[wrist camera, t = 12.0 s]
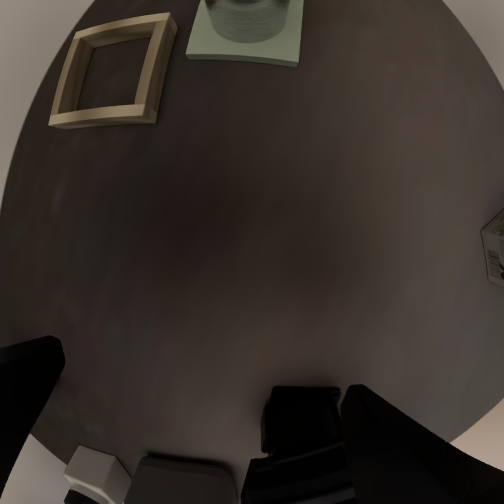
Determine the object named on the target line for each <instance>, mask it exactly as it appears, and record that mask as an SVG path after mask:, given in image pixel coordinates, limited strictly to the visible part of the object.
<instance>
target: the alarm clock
mask: <svg viewBox="0 0 504 504" xmlns="http://www.w3.org/2000/svg"><path fill="white" fill-rule="evenodd" d="M124 504H238V500H237V496H236V492H235V488H234V484H233V481H232V477H231V476H230V475H229V474H228V473H227V472H226V471H225V470H223V469H222V468H221V467H218V466H214V465H210V464H198V463H188V462H180V461H172V460H166V459H160V458H154V457H149V456H146V457H143V458H142V459H141V461H140V462H139V464H138V467H137V469H136V472H135V475H134V478H133V480H132V483H131V486H130V489H129V491H128V494H127V497H126V500H125V503H124Z"/></svg>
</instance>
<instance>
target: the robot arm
mask: <svg viewBox="0 0 504 504" xmlns="http://www.w3.org/2000/svg"><path fill="white" fill-rule="evenodd" d="M64 366H65V356H64V352H63V348H62V344H61V341H60V340H59V339H58V338H56V337H53V336H50V335H48V336H44V337H41V338H37V339H33V340H30V341H26V342H22V343H18V344H15V345H11V346H7V347H3V348H0V498H1V495H2V493H3V490H4V487H5V484H6V482H7V480H8V477H9V475H10V473H11V471H12V468H13V466H14V464H15V462H16V460H17V458H18V455H19V453H20V451H21V449H22V447H23V445H24V443H25V441H26V439H27V437H28V435H29V434H30V432H31V430H32V428H33V426H34V424H35V422H36V421H37V419H38V417H39V415H40V413H41V412H42V410H43V408H44V406H45V405H46V403H47V401H48V399H49V397H50V395H51V393H52V391H53V389H54V387H55V384H56V382H57V380H58V378H59V376H60V374H61V372H62V370H63V368H64ZM276 392H279V393H276ZM334 393H335V394H334ZM340 396H341V391H340V389H339V388H294V387H275V388H273V389H272V393H271V397H270V401H269V405H265V406H264V410H263V414H262V418H261V451H262V452H263V453H268V457H265V458H260V459H258V458H255V459H251V461H250V464H249V467H248V471H247V474H246V478H245V482H244V485H243V489H242V492H241V496H240V498H241V504H504V471H502V470H500V469H497V468H495V467H493V466H491V465H488V464H486V463H484V462H482V461H480V460H478V459H475V458H473V457H472V456H470V455H468V454H466V453H464V452H462V451H461V450H459V449H457V448H456V447H454V446H452V445H451V444H450V443H448V442H445V440H443V439H442V438H440V437H439V436H437V435H436V434H434V433H433V432H431V431H430V430H428V429H427V428H425V427H424V426H422V425H421V424H419V423H418V422H416V421H415V420H413V419H412V418H410V417H409V416H407V415H406V414H404V413H403V412H401V411H400V410H399V409H397V408H396V407H394V406H393V405H391V404H390V403H389V402H387V401H386V400H384V399H383V398H382V397H380V396H379V395H377V394H376V393H375V392H373V391H372V390H370V389H369V388H368V387H366V386H365V385H363V384H356V385H350V386H349V387H348V389H347V392H346V394H345V396H344V399H343V401H342V403H341V408H340V412H341V417H340V414H339V411H338V408H337V403H338V400H339V398H340Z"/></svg>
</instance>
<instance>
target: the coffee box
mask: <svg viewBox="0 0 504 504" xmlns="http://www.w3.org/2000/svg"><path fill="white" fill-rule="evenodd" d="M481 234H482V239H483V244H484V250H485V256H486V263H487V271H488V279H489V280H490V281H492V282H494V283H496V284H498V285H500V286H501V287H503V288H504V210H503V211H502V212H501V213H500V214H499V215H498V216H497V217H495V218H494V219H493V220H492V221H491V222H490V223H489V224H488V225H487V226H485V227H484V228H483V229H482V230H481Z"/></svg>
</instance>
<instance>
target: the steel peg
mask: <svg viewBox="0 0 504 504" xmlns="http://www.w3.org/2000/svg"><path fill="white" fill-rule="evenodd" d="M289 3H290V0H205V4H206V7H207V11H208V14H209V18H210V21H211V25H212V27H213V29H214V31H215V32H216V33H217V34H218V35H220V36H221V37H223V38H225V39H227V40H229V41H233V42H237V43H258V42H262V41H266V40H268V39H271V38H272V37H274V36H276V35H277V34H278V33H279V32H281V30H282V29H283V27H284V26H285V23H286V18H287V13H288V8H289Z"/></svg>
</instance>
